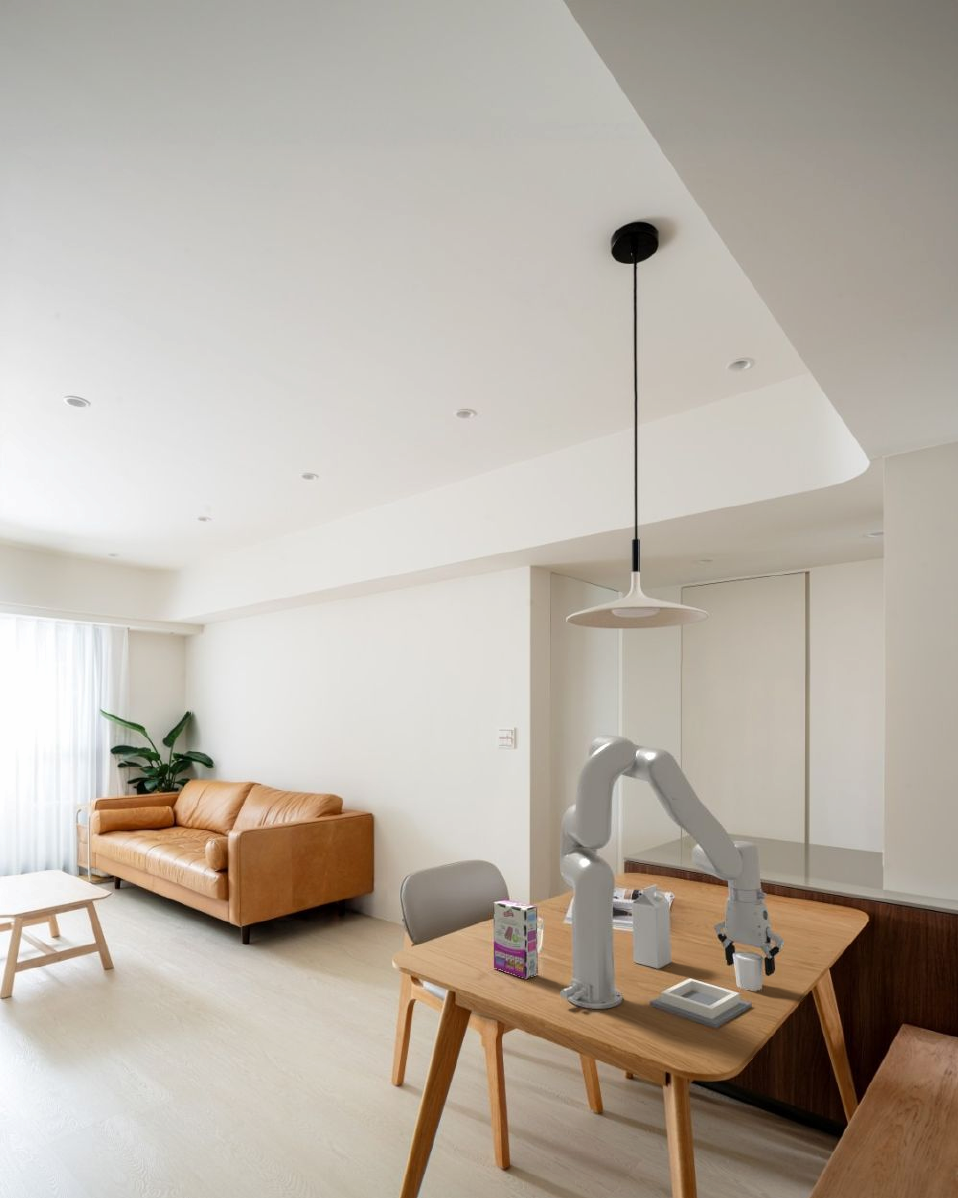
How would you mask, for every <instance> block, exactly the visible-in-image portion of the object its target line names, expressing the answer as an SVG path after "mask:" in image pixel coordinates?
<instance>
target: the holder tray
mask: <svg viewBox="0 0 958 1198" xmlns="http://www.w3.org/2000/svg"><path fill="white" fill-rule="evenodd" d="M649 1006H650V1007H653V1008H656V1009H658V1010H661V1011H665V1012H666V1013H669V1014H674V1015H675V1016H679V1017H681V1018H685V1019H687V1020H690V1021H693V1022H696V1023H698V1024H702V1025H705V1026H707V1027H711V1028H712V1029H713V1028H714V1029H717V1028H719V1027H721V1026H722V1025H724V1024H726V1023H728V1022H729V1021H731V1020H732V1019H734V1018H736V1017H737V1016H739V1015H741V1014H742V1013H744V1012H746V1011H747V1010H749V1009H750V1007H751V1008H752V1007H753V1003H752V1002H750V1001H747V1000H744V999H741V993H740V992H737V991H734V990H730V989H727V988H724V987H720V986H717V985H713V984H710V983H707V982H703V981H700V980H696V979H693V978H687V979H685V980H684V981H681V982H679V983H677V984H675V985H673V986H671V987H669V988H667V989H665V990H663V991H661V992H660V996H659V997H655V998H654V999H653V1000H651V1001H649Z"/></svg>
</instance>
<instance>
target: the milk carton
mask: <svg viewBox="0 0 958 1198" xmlns="http://www.w3.org/2000/svg"><path fill="white" fill-rule="evenodd" d="M631 907H632V908H631V909H632V913H631V914H632V938H633V939H632V940H633V947H632V948H633V963H636V964H640V965H643V966H645V967H650V968H653V969H658V970H659V969H661V968H663V967H665V966H667V965H668V964H670V963H672V946H671V945H672V944H671V920H670V919H671V916H670V902H669V900H668V899H667V898H666V897H665V895H664V894H663V893H662V892H661V891H660V890H659V888H658V884H653V885H651V886H648V887H645V888H643V889H642V894H641V895H640V896H638V897H637V898H636V899H635V900H634V901H633V902H631Z"/></svg>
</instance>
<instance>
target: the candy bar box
mask: <svg viewBox="0 0 958 1198" xmlns="http://www.w3.org/2000/svg"><path fill="white" fill-rule="evenodd" d="M538 957H539V956H538V906H536V905H533V904H527V903H523V902H519V901H513V900H509V899H502V900H498V901H494V902H493V969H494V968H497V969H501V970H503V971H506V972H509V973H512V974H515V975H517V976H520V977H523V978H529V977H531V976H534V975H536V974H539V967H538V964H539V963H538V961H539V960H538V959H539V958H538ZM517 976H516V977H517ZM536 976H537V975H536ZM520 977H519V978H520ZM534 977H535V976H534ZM523 978H522V979H523ZM531 978H532V977H531ZM529 979H530V978H529Z"/></svg>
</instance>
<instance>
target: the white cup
mask: <svg viewBox="0 0 958 1198" xmlns="http://www.w3.org/2000/svg"><path fill="white" fill-rule="evenodd" d="M733 960H734V964H733V966H734V974H735V981H736V986H737V987H738V988H739V987H740V988H739V989H741V988H742V989H741V990H744V989H745V990H744V991H748V990H750V992H758V991H757V990H759V991H761V990H762V989H763V970H764V969H763V968H764V967H763V965H764V964H763V963H764V957H763V956H762V955H761V954H759V953H757V952H752V951H746V950H745V951H744V950H743V951H742V950H740V951H735V953H733ZM760 989H761V990H760Z"/></svg>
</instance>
